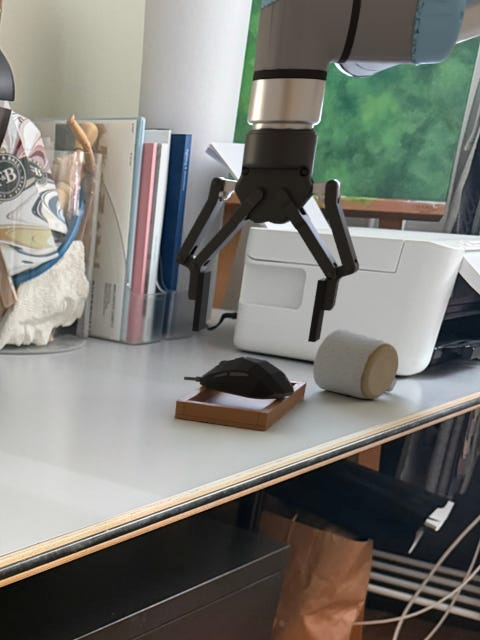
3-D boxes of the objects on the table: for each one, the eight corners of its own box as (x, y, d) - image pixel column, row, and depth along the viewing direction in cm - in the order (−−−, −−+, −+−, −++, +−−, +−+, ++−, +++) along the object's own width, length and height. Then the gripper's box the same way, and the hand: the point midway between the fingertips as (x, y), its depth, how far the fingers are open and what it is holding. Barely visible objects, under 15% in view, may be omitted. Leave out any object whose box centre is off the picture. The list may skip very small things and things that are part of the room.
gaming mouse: (199, 376, 119) (203, 344, 117) (303, 397, 110) (308, 362, 108) (169, 382, 115) (172, 349, 114) (273, 405, 106) (279, 369, 104)
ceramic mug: (360, 404, 116) (374, 340, 113) (307, 391, 122) (318, 330, 119) (409, 396, 122) (424, 335, 119) (356, 384, 128) (368, 326, 124)
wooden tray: (303, 398, 119) (306, 382, 118) (265, 431, 103) (267, 413, 102) (223, 388, 123) (225, 372, 122) (174, 417, 108) (176, 400, 107)
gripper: (411, 129, 97) (371, 340, 107) (181, 129, 108) (164, 321, 117) (401, 126, 91) (359, 349, 101) (159, 127, 102) (143, 329, 112)
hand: (254, 335), depth 109 cm, fingers open, 13 cm apart
